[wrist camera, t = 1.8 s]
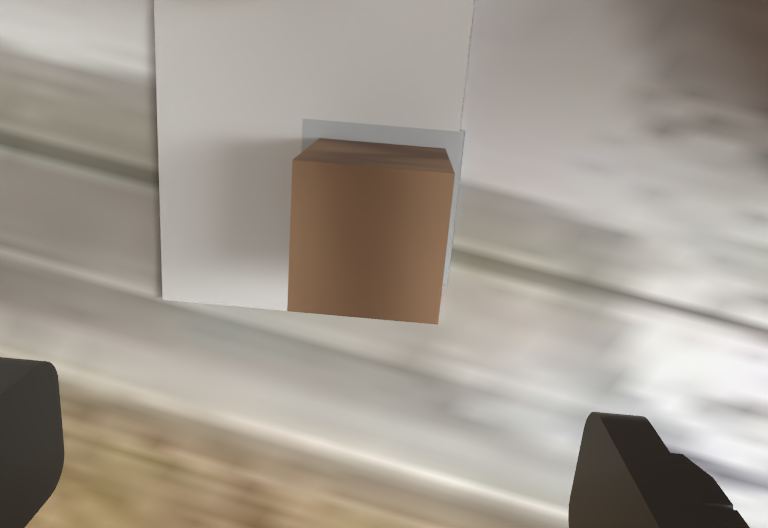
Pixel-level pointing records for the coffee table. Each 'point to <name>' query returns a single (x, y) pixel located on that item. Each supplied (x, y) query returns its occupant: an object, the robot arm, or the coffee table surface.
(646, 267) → the coffee table surface
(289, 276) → the walnut block
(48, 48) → the coffee table surface
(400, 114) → the white board
